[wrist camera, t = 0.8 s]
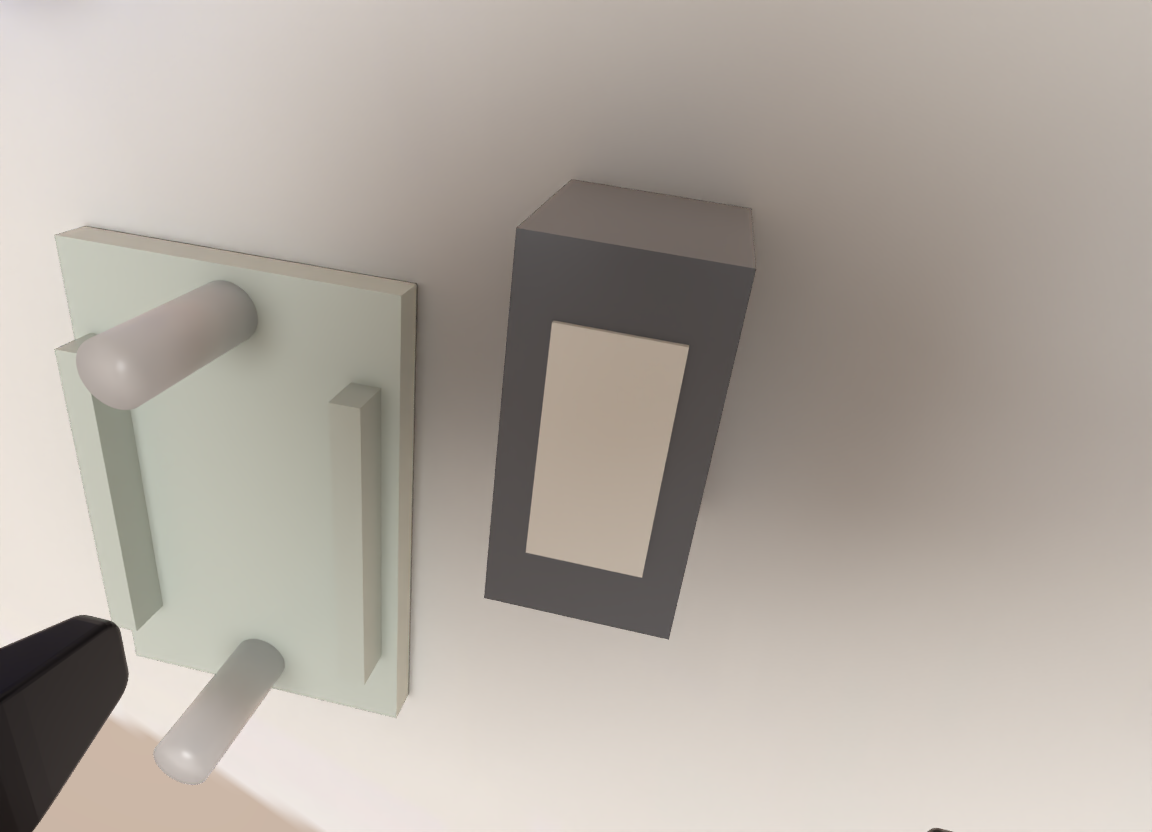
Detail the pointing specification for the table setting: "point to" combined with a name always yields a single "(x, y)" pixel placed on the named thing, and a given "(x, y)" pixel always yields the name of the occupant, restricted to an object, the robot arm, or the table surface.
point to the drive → (613, 399)
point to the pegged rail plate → (245, 472)
